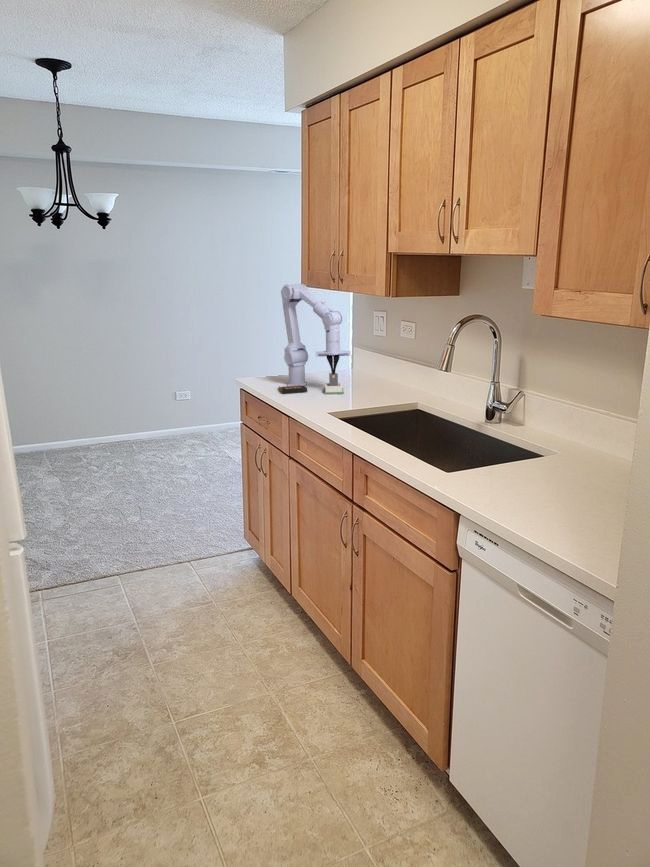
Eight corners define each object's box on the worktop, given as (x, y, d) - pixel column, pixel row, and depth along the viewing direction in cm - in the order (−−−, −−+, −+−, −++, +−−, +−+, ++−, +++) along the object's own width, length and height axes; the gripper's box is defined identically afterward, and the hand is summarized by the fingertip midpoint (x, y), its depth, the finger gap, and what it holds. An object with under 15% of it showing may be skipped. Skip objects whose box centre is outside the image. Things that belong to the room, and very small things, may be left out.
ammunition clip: (307, 391, 280) (300, 387, 292) (307, 387, 280) (300, 383, 291) (282, 393, 277) (276, 389, 289) (282, 389, 277) (276, 385, 288)
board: (324, 389, 285) (324, 382, 284) (342, 388, 285) (342, 382, 284) (324, 394, 275) (324, 387, 274) (343, 393, 275) (343, 386, 274)
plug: (329, 389, 281) (329, 373, 279) (337, 389, 281) (337, 373, 280) (329, 391, 278) (329, 374, 276) (338, 391, 278) (337, 374, 276)
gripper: (315, 342, 270) (316, 375, 274) (350, 341, 270) (351, 374, 274) (315, 340, 277) (316, 372, 281) (349, 339, 277) (350, 371, 281)
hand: (333, 373), depth 278 cm, fingers closed
